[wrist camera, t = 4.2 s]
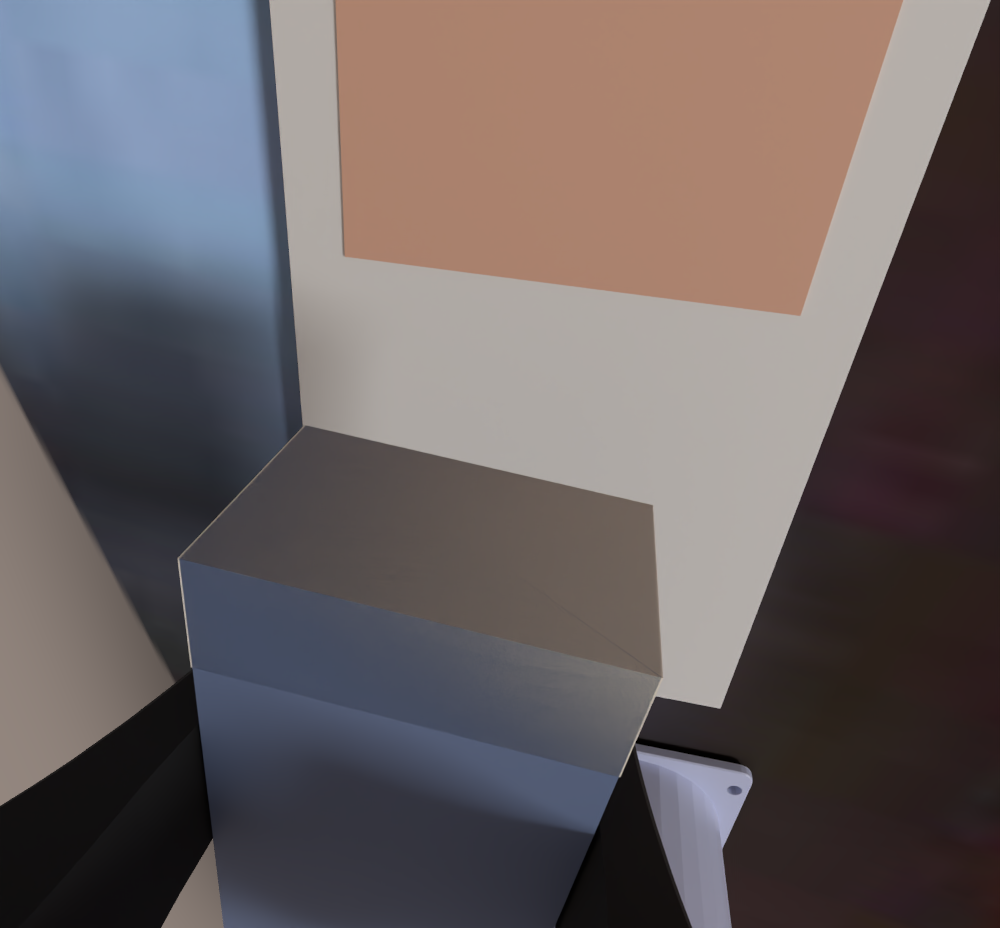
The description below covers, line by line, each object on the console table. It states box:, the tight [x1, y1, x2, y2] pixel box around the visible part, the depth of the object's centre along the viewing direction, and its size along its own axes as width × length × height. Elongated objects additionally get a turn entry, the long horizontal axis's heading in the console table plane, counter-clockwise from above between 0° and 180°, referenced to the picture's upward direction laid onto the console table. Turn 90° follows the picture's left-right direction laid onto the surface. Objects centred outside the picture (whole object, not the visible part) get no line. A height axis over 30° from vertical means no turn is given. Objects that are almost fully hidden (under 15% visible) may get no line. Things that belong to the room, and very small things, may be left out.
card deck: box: [178, 425, 663, 928], centre depth 11 cm, size 9×6×3 cm, turn 171°
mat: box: [269, 0, 990, 708], centre depth 17 cm, size 22×14×1 cm, turn 175°
